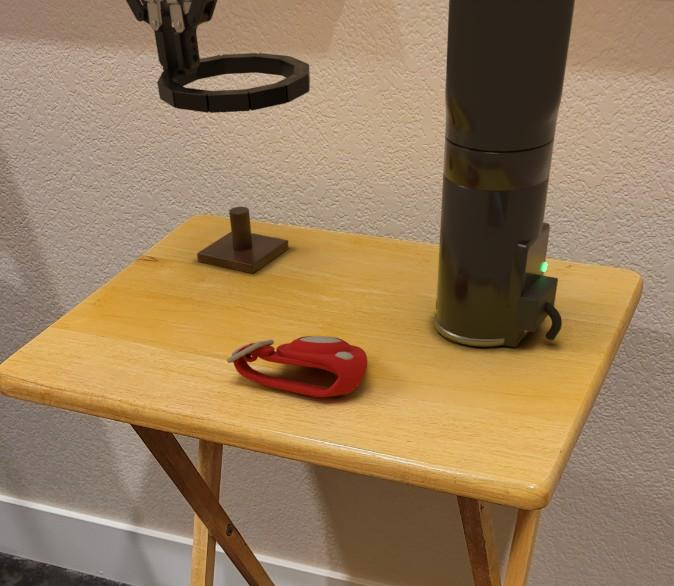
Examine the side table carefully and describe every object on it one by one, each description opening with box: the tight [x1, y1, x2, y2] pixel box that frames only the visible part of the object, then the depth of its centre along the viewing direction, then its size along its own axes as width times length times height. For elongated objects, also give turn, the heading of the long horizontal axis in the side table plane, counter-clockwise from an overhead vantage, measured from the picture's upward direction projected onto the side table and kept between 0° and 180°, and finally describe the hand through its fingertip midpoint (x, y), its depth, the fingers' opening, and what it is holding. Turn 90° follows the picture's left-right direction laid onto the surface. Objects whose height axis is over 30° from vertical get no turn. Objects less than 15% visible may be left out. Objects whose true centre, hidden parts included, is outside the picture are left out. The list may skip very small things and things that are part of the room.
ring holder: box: [196, 206, 289, 274], centre depth 99 cm, size 8×8×5 cm
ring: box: [156, 52, 311, 114], centre depth 87 cm, size 15×15×2 cm
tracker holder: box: [226, 335, 368, 398], centre depth 79 cm, size 12×4×10 cm
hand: (181, 71), depth 90 cm, fingers closed on ring, 1 cm apart
